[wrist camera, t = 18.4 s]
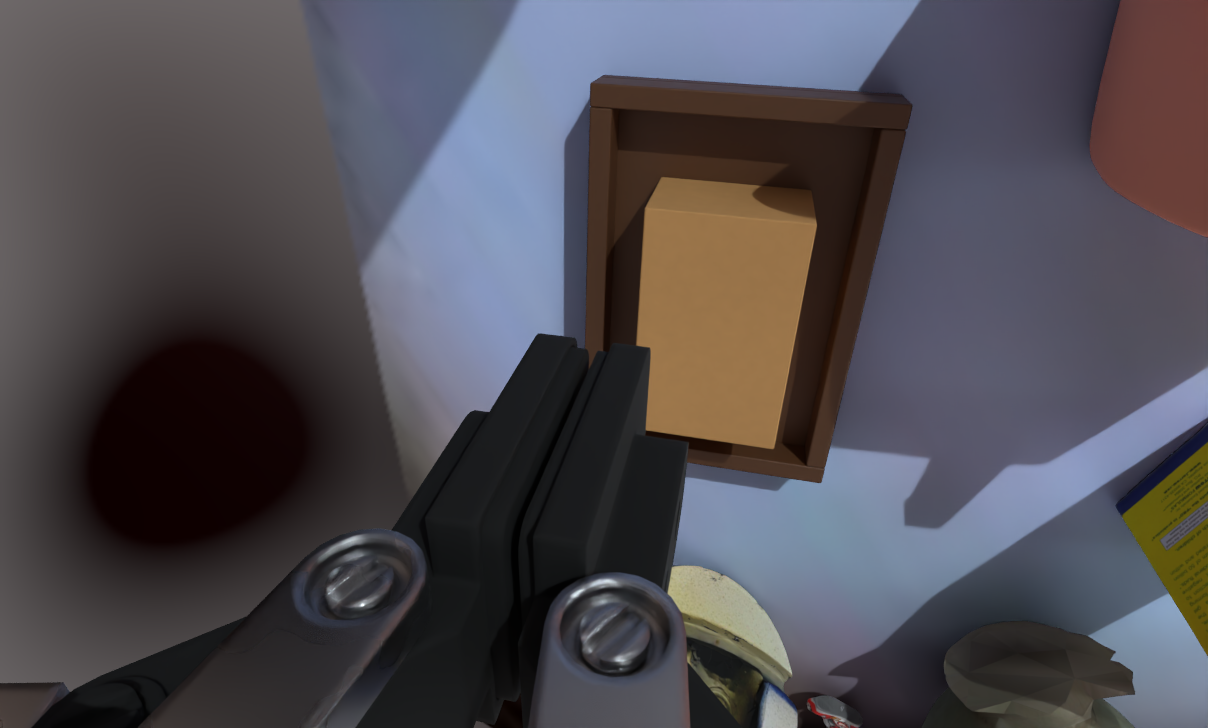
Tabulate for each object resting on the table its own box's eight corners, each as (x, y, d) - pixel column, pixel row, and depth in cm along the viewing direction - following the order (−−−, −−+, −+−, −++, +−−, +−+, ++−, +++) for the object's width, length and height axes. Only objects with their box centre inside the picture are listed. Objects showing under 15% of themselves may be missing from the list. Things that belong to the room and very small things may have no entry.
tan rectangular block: (660, 176, 27) (644, 207, 23) (811, 189, 26) (817, 224, 22) (646, 377, 31) (630, 428, 28) (774, 395, 30) (773, 450, 27)
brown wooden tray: (602, 74, 26) (590, 82, 24) (903, 94, 24) (913, 104, 22) (593, 421, 34) (582, 446, 32) (818, 454, 32) (821, 483, 30)
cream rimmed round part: (549, 571, 33) (505, 697, 43) (649, 865, 25) (568, 936, 35) (755, 525, 38) (674, 648, 48) (892, 761, 30) (761, 849, 40)
